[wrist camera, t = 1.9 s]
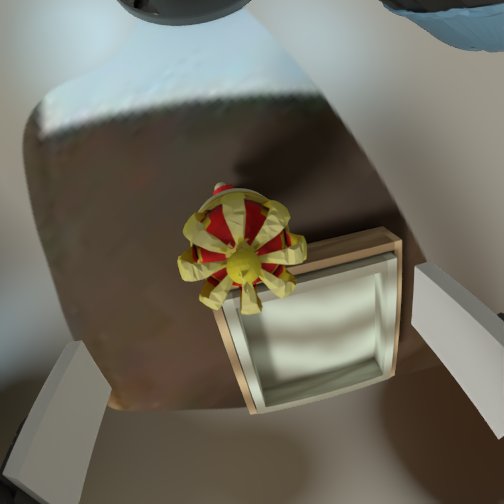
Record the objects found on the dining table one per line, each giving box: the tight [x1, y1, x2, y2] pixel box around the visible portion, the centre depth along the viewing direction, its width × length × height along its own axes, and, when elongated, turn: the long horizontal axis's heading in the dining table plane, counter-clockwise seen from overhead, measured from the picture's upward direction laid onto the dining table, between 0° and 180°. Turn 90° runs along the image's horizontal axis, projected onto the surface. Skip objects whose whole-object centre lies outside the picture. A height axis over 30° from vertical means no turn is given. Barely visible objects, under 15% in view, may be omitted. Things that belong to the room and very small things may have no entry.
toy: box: [177, 182, 307, 315], centre depth 21 cm, size 7×7×15 cm
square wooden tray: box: [206, 226, 402, 414], centre depth 31 cm, size 18×18×5 cm
